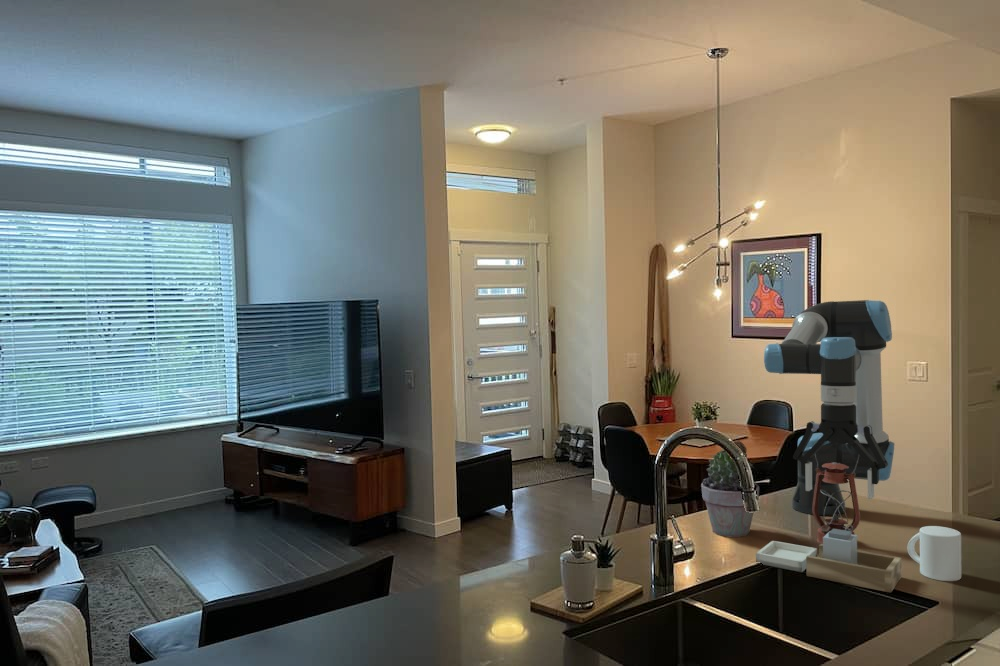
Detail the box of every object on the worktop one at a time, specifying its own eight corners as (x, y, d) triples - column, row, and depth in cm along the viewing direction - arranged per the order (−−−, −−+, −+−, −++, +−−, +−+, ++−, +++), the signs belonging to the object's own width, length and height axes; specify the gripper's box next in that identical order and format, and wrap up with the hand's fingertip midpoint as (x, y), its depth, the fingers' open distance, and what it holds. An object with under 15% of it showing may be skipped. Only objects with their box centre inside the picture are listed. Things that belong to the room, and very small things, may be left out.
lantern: (848, 535, 201) (847, 426, 200) (863, 548, 191) (862, 433, 190) (811, 535, 202) (809, 427, 201) (824, 548, 192) (822, 433, 191)
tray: (772, 550, 191) (772, 540, 191) (817, 558, 184) (816, 548, 184) (756, 563, 182) (755, 553, 182) (802, 572, 175) (802, 561, 175)
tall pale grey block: (830, 567, 177) (829, 526, 177) (857, 572, 174) (856, 531, 173) (823, 575, 173) (822, 533, 172) (850, 580, 169) (850, 537, 169)
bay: (820, 562, 181) (820, 543, 181) (901, 577, 170) (901, 557, 170) (806, 575, 173) (806, 556, 172) (890, 592, 161) (890, 572, 161)
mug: (945, 538, 165) (897, 524, 176) (946, 584, 165) (897, 567, 176) (969, 532, 169) (919, 519, 179) (969, 577, 169) (920, 561, 180)
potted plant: (694, 541, 200) (693, 449, 199) (698, 520, 219) (697, 437, 218) (765, 546, 194) (763, 452, 193) (763, 524, 213) (762, 439, 212)
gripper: (778, 401, 177) (779, 489, 177) (894, 408, 161) (895, 504, 161) (788, 398, 183) (789, 483, 183) (901, 404, 167) (902, 497, 167)
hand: (839, 493), depth 172 cm, fingers open, 13 cm apart
